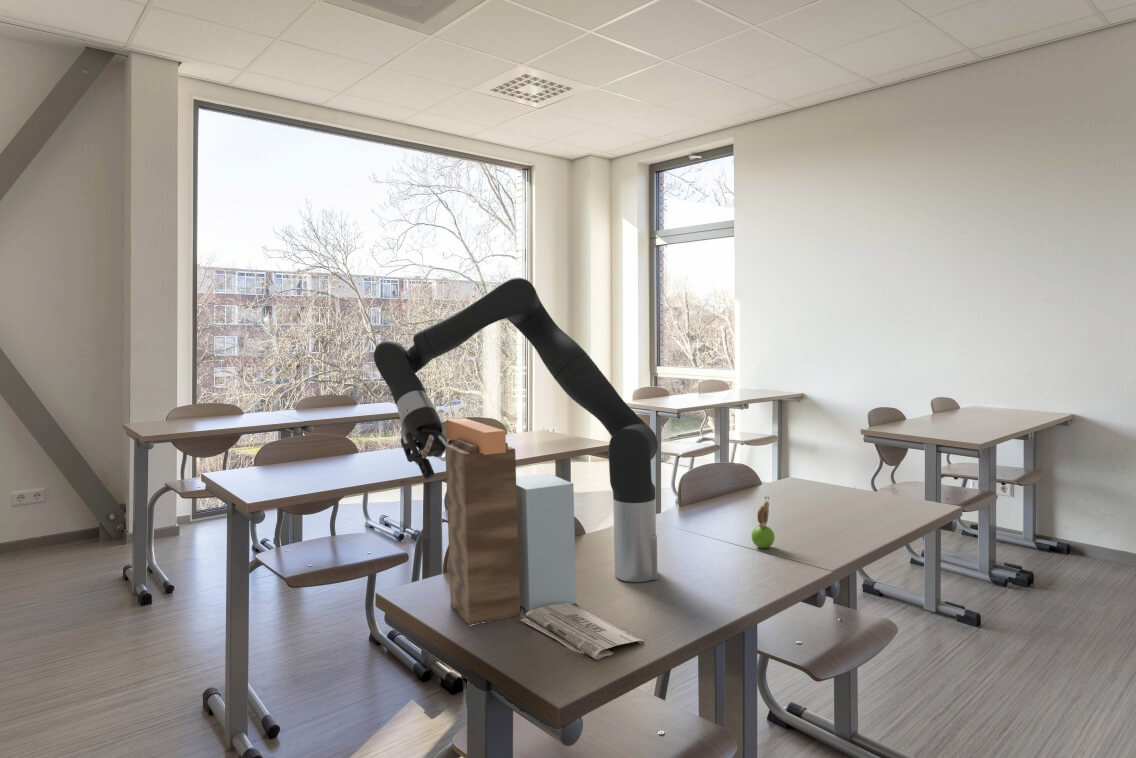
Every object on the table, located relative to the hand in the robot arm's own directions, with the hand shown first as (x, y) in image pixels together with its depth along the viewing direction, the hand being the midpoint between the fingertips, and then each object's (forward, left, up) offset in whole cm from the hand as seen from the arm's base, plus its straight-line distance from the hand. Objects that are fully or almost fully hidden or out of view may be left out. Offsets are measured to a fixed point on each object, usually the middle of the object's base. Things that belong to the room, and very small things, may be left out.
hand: (446, 477), depth 141 cm
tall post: (-9, +8, -25) cm, 27 cm away
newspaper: (-28, +18, -25) cm, 42 cm away
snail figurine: (-71, -31, -25) cm, 81 cm away
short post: (-19, +2, -25) cm, 31 cm away
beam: (-7, +5, +7) cm, 12 cm away
